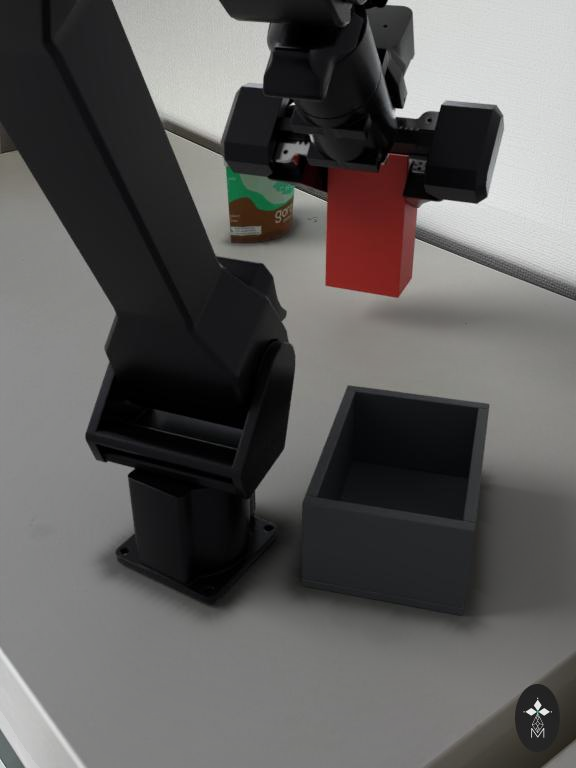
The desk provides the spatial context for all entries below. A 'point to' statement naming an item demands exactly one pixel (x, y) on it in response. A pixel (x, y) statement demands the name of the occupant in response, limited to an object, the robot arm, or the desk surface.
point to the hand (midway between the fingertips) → (378, 196)
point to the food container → (258, 207)
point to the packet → (370, 229)
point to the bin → (396, 499)
